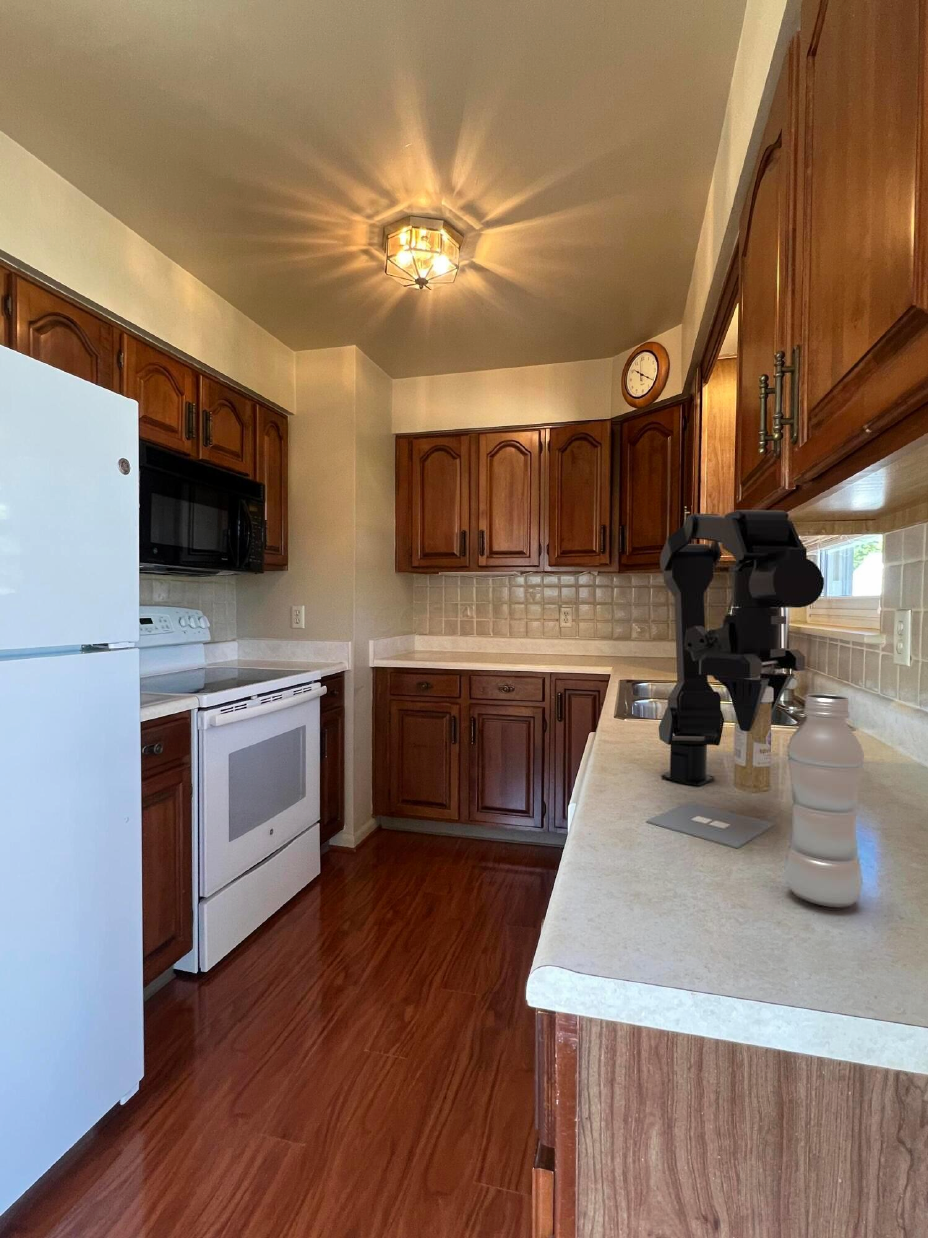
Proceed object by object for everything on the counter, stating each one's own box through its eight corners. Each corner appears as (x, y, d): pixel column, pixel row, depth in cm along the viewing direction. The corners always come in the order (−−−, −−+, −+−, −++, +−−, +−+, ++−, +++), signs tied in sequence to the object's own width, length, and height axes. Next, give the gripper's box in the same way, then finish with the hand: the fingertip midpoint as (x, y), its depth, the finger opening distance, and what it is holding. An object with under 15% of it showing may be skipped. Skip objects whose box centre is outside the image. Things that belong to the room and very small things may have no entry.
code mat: (688, 803, 90) (688, 801, 90) (775, 825, 81) (775, 823, 81) (646, 822, 82) (646, 820, 82) (737, 848, 73) (737, 847, 73)
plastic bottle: (879, 914, 58) (885, 701, 57) (814, 919, 57) (820, 702, 56) (827, 883, 64) (832, 691, 64) (768, 887, 63) (773, 692, 63)
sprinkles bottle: (772, 796, 77) (774, 688, 77) (732, 791, 79) (734, 686, 78) (769, 786, 81) (772, 684, 81) (731, 782, 83) (734, 682, 83)
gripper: (726, 608, 92) (724, 712, 92) (661, 606, 79) (658, 727, 79) (807, 608, 83) (804, 723, 84) (749, 607, 71) (746, 742, 71)
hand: (752, 728), depth 80 cm, fingers closed on sprinkles bottle, 4 cm apart
